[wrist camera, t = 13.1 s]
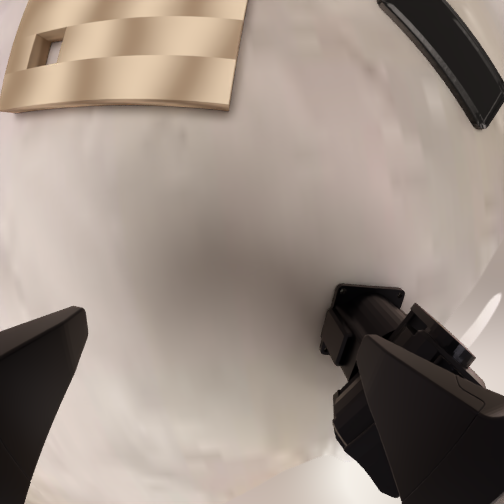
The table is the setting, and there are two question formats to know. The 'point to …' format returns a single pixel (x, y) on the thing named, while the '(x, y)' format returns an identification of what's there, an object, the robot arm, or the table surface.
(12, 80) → the board
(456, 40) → the phone
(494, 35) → the table surface
